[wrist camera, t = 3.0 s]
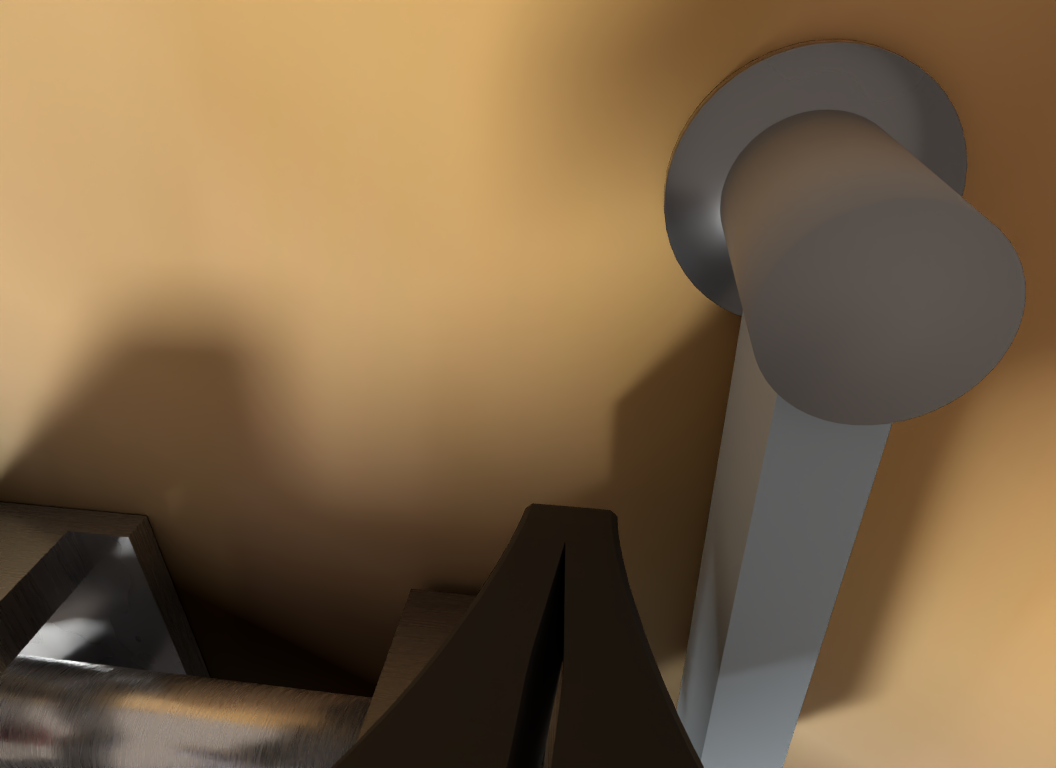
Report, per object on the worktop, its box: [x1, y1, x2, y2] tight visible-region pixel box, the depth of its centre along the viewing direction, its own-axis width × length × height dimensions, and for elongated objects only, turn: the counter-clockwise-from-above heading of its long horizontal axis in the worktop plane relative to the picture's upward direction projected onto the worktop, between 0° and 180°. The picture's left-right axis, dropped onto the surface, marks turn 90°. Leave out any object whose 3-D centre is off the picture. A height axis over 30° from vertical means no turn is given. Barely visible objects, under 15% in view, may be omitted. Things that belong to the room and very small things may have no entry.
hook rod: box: [0, 589, 562, 768], centre depth 14 cm, size 4×14×4 cm, turn 91°
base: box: [664, 39, 967, 316], centre depth 9 cm, size 4×4×1 cm
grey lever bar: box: [677, 109, 1026, 768], centre depth 11 cm, size 14×2×3 cm, turn 1°
